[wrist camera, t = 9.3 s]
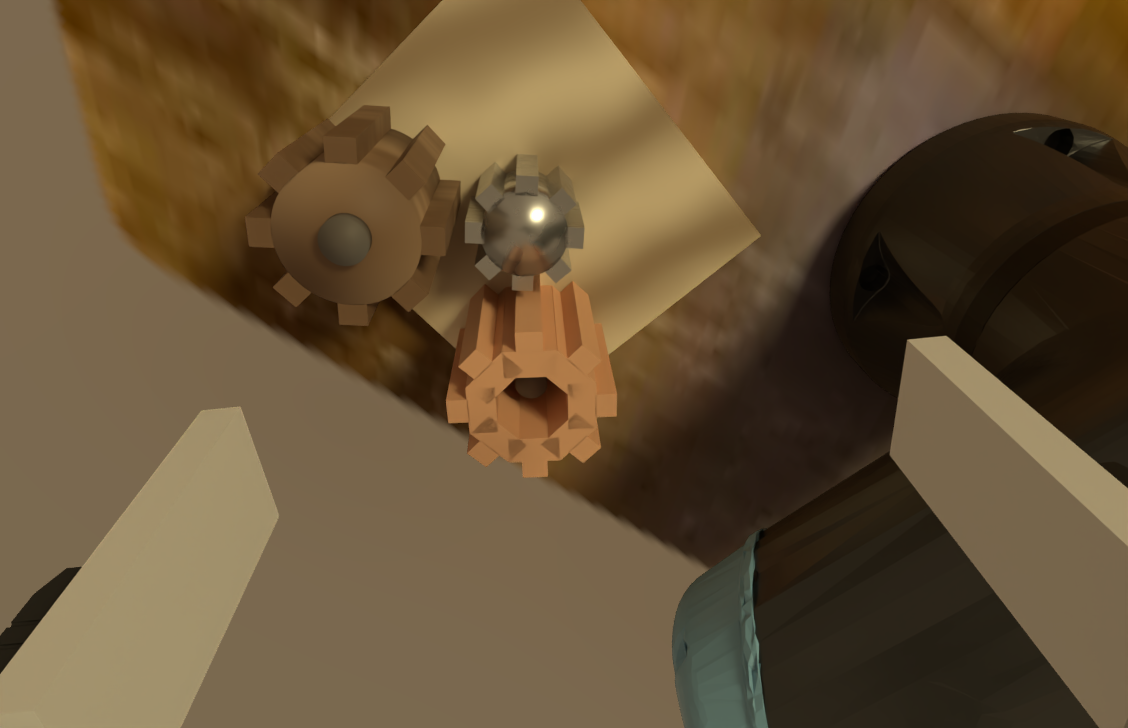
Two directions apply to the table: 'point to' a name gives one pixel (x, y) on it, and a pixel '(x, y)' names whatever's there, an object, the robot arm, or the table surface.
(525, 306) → the planet gear
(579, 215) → the sun gear
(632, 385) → the table surface
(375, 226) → the pinned planet gear
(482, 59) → the carrier
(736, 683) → the robot arm
